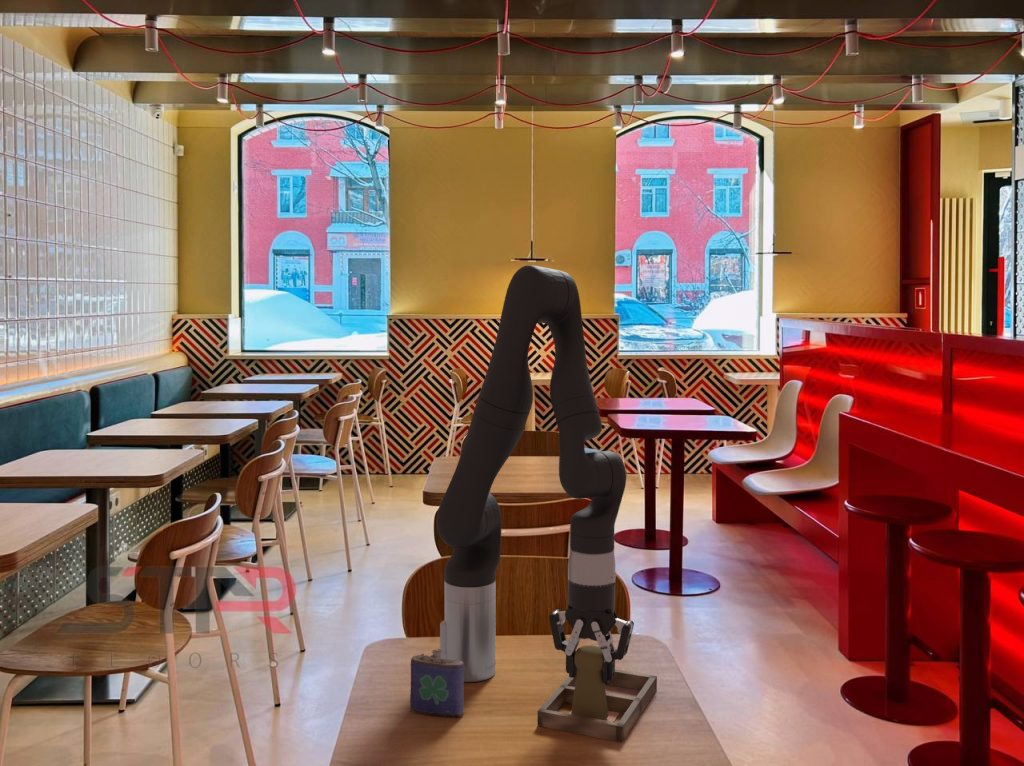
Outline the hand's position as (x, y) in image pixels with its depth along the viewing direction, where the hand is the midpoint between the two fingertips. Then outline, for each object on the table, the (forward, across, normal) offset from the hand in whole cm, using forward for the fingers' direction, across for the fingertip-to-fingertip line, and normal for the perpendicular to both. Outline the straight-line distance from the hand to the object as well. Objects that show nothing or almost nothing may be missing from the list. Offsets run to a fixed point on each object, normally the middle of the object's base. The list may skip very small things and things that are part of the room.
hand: (590, 678), depth 155 cm
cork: (+6, 0, 0) cm, 6 cm away
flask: (+7, -24, -8) cm, 26 cm away
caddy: (+7, 0, +5) cm, 8 cm away
